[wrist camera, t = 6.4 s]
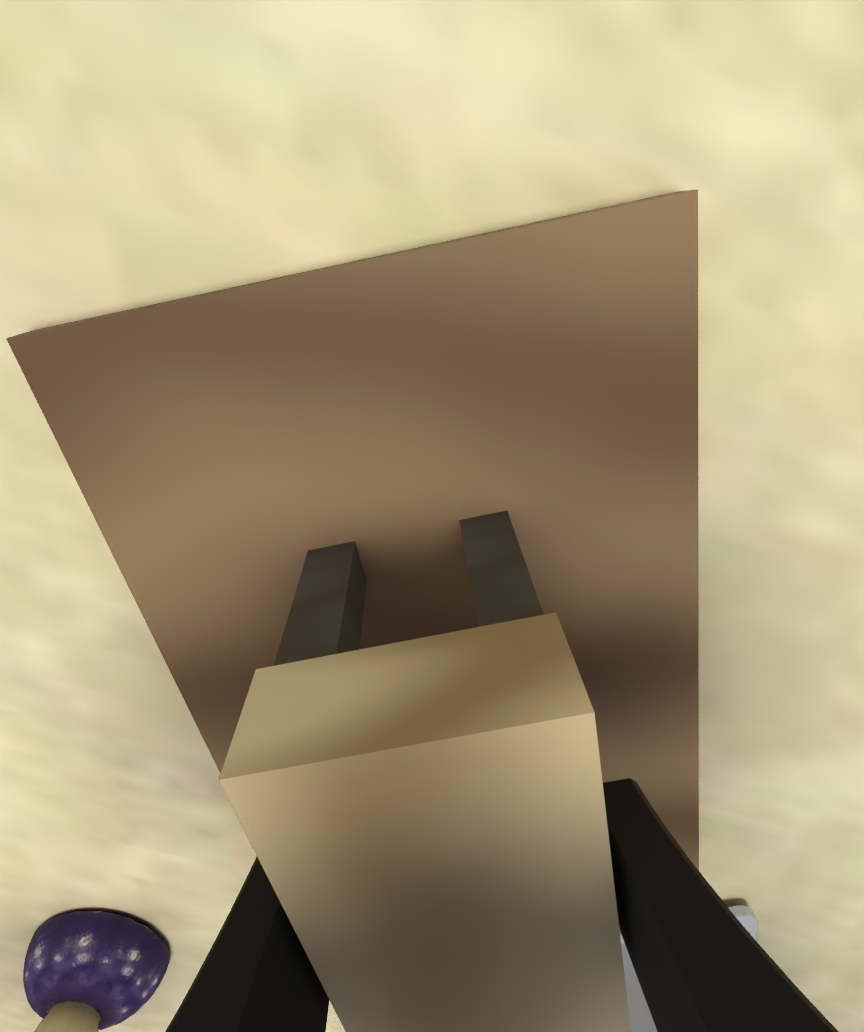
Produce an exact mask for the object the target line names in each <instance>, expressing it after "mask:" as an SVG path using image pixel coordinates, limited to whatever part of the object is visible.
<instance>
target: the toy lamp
mask: <svg viewBox="0 0 864 1032" xmlns="http://www.w3.org/2000/svg"><path fill="white" fill-rule="evenodd" d="M169 959H170V957H169V952H168V947H167V946H166V945H165V943H164V942H163V941H162V940H161V938H160V937H158V936H157V935H156V934H155V933H154V932H153V931H152V930H151V929H149V928H148V927H147V926H145V925H144V924H140V923H138V922H135V921H134V920H133V919H132V918H128V917H125V916H121V915H118V914H113V913H108V912H103V911H75V912H71V913H65V914H63V915H60V916H57V917H54V918H52V919H50V920H48V921H47V922H46V923H44V924H43V925H42V926H41V927H40V928H38V929H37V930H36V931H35V933H34V935H33V937H32V940H31V942H30V944H29V947H28V951H27V954H26V958H25V964H24V977H23V982H24V988H25V992H26V996H27V1000H28V1002H29V1004H30V1005H31V1008H32V1009H33V1010H34V1011H35V1012H36V1013H37V1014H38V1015H39V1016H40V1017H42V1018H43V1020H42V1021H41V1022H40V1024H39V1025H38V1027H37V1028H36V1030H35V1031H34V1032H98V1030H102V1029H105V1028H108V1027H110V1026H113V1025H116V1024H118V1023H121V1022H122V1021H124V1020H125V1019H127V1018H128V1017H130V1016H132V1015H133V1014H135V1013H136V1012H137V1011H138V1010H139V1009H140V1008H141V1007H142V1006H143V1005H144V1004H145V1003H146V1002H147V1001H148V1000H149V999H150V997H151V996H152V995H153V994H154V992H155V990H156V989H157V987H158V986H159V985H160V983H161V981H162V979H163V977H164V975H165V972H166V970H167V967H168V964H169Z"/></svg>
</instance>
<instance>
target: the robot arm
mask: <svg viewBox="0 0 864 1032" xmlns="http://www.w3.org/2000/svg"><path fill="white" fill-rule="evenodd" d="M603 791H604V799H605V808H606V817H607V826H608V834H609V843H610V852H611V860H612V869H613V878H614V887H615V895H616V904H617V913H618V921H619V930H620V939H621V948H622V956H623V965H624V974H625V982H626V991H627V1000H628V1009H629V1017H630V1026H631V1032H838V1031H837V1030H836V1028H835V1027H834V1026H833V1025H832V1024H831V1023H830V1022H829V1021H828V1020H827V1019H826V1018H825V1017H824V1016H823V1015H822V1014H821V1013H820V1012H819V1011H818V1010H817V1008H816V1007H815V1006H814V1005H813V1004H812V1003H811V1002H810V1001H809V1000H808V999H807V998H806V997H805V995H804V994H803V993H802V992H801V991H800V990H799V989H798V988H797V987H796V986H795V985H794V983H793V982H792V981H791V980H790V979H789V978H788V977H787V976H786V975H785V973H784V972H783V971H782V970H781V969H780V968H779V967H778V965H777V964H776V963H775V962H774V961H773V960H772V959H771V958H770V956H769V955H768V954H767V953H766V952H765V951H764V950H763V949H762V947H761V946H760V945H759V944H758V943H757V942H756V939H757V925H758V922H757V919H756V917H755V915H754V913H753V911H752V909H750V908H749V907H747V906H743V905H740V906H732V907H727V906H726V904H725V903H724V902H723V901H722V899H721V898H720V897H719V896H718V894H717V893H716V892H715V891H714V890H713V888H712V887H711V886H710V885H709V883H708V882H707V881H706V880H705V878H704V877H703V876H702V875H701V873H700V872H699V871H698V869H697V868H696V867H695V866H694V864H693V863H692V862H691V860H690V859H689V858H688V856H687V855H686V854H685V852H684V851H683V850H682V848H681V847H680V845H679V844H678V843H677V841H676V840H675V839H674V837H673V836H672V835H671V833H670V832H669V830H668V829H667V828H666V826H665V825H664V823H663V822H662V820H661V819H660V818H659V816H658V815H657V813H656V812H655V810H654V809H653V807H652V806H651V804H650V803H649V801H648V799H647V798H646V796H645V795H644V793H643V792H642V790H641V788H640V787H639V785H638V783H637V782H636V781H634V780H632V779H631V778H627V779H622V780H616V781H610V782H604V783H603ZM328 1005H329V998H328V996H327V994H326V992H325V990H324V988H323V986H322V984H321V982H320V980H319V978H318V976H317V974H316V972H315V970H314V968H313V966H312V964H311V962H310V960H309V958H308V956H307V954H306V952H305V950H304V948H303V946H302V944H301V942H300V940H299V938H298V936H297V934H296V932H295V930H294V928H293V926H292V924H291V922H290V920H289V918H288V916H287V914H286V912H285V911H284V909H283V907H282V905H281V903H280V901H279V899H278V897H277V895H276V893H275V891H274V889H273V887H272V885H271V883H270V881H269V879H268V877H267V875H266V873H265V871H264V869H263V867H262V865H261V863H260V861H259V859H258V857H256V860H255V862H254V864H253V866H252V868H251V870H250V872H249V874H248V876H247V878H246V880H245V882H244V884H243V886H242V889H241V891H240V893H239V895H238V897H237V899H236V901H235V903H234V905H233V907H232V909H231V911H230V913H229V915H228V917H227V919H226V921H225V923H224V925H223V927H222V929H221V930H220V932H219V934H218V936H217V938H216V940H215V942H214V944H213V946H212V948H211V950H210V952H209V953H208V955H207V957H206V959H205V961H204V963H203V965H202V967H201V968H200V970H199V972H198V974H197V976H196V978H195V980H194V982H193V983H192V985H191V987H190V989H189V991H188V993H187V995H186V996H185V998H184V1000H183V1002H182V1004H181V1006H180V1007H179V1009H178V1011H177V1013H176V1014H175V1016H174V1018H173V1019H172V1021H171V1023H170V1025H169V1026H168V1028H167V1030H166V1032H325V1030H326V1022H327V1014H328Z"/></svg>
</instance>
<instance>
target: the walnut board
mask: <svg viewBox="0 0 864 1032" xmlns="http://www.w3.org/2000/svg"><path fill="white" fill-rule="evenodd" d="M6 339H7V341H8V343H9V345H10V347H11V349H12V351H13V353H14V355H15V357H16V359H17V361H18V363H19V365H20V367H21V369H22V371H23V373H24V375H25V377H26V379H27V382H28V384H29V386H30V388H31V390H32V392H33V394H34V396H35V398H36V400H37V402H38V404H39V406H40V408H41V410H42V412H43V414H44V416H45V418H46V420H47V422H48V424H49V426H50V428H51V430H52V432H53V434H54V436H55V438H56V440H57V442H58V444H59V446H60V448H61V450H62V453H63V455H64V457H65V459H66V461H67V463H68V465H69V467H70V469H71V471H72V473H73V475H74V477H75V479H76V481H77V483H78V485H79V487H80V489H81V491H82V493H83V495H84V497H85V499H86V501H87V503H88V505H89V507H90V509H91V511H92V513H93V515H94V517H95V519H96V522H97V524H98V526H99V528H100V530H101V532H102V534H103V536H104V538H105V540H106V542H107V544H108V546H109V548H110V550H111V552H112V554H113V556H114V558H115V560H116V562H117V564H118V566H119V568H120V570H121V572H122V574H123V576H124V578H125V580H126V582H127V584H128V586H129V588H130V590H131V593H132V595H133V597H134V599H135V601H136V603H137V605H138V607H139V609H140V611H141V613H142V615H143V617H144V619H145V621H146V623H147V625H148V627H149V629H150V631H151V633H152V635H153V637H154V639H155V641H156V643H157V645H158V647H159V649H160V651H161V653H162V655H163V657H164V659H165V661H166V664H167V666H168V668H169V670H170V672H171V674H172V676H173V678H174V680H175V682H176V684H177V686H178V688H179V690H180V692H181V694H182V696H183V698H184V700H185V702H186V704H187V706H188V708H189V710H190V712H191V714H192V716H193V718H194V720H195V722H196V724H197V726H198V728H199V730H200V733H201V735H202V737H203V739H204V741H205V743H206V745H207V747H208V749H209V751H210V753H211V755H212V757H213V759H214V761H215V763H216V765H217V767H218V769H219V771H220V773H221V771H222V768H223V765H224V762H225V759H226V756H227V753H228V750H229V748H230V745H231V742H232V739H233V736H234V733H235V730H236V727H237V724H238V721H239V718H240V715H241V712H242V709H243V706H244V703H245V700H246V697H247V694H248V691H249V688H250V685H251V682H252V679H253V676H254V673H255V670H256V669H260V668H265V667H270V666H274V662H275V659H276V656H277V652H278V649H279V646H280V642H281V639H282V636H283V632H284V629H285V626H286V622H287V619H288V616H289V612H290V609H291V606H292V602H293V599H294V596H295V592H296V589H297V586H298V582H299V579H300V576H301V572H302V569H303V566H304V562H305V559H306V556H307V552H308V550H313V549H318V548H323V547H328V546H333V545H338V544H343V543H348V542H353V541H355V543H356V547H357V550H358V553H359V557H360V560H361V564H362V567H363V570H364V574H365V577H366V580H367V583H366V593H365V602H364V611H363V620H362V629H361V638H360V647H359V650H360V649H365V648H370V647H376V646H381V645H386V644H391V643H397V642H402V641H407V640H413V639H418V638H423V637H428V636H434V635H439V634H444V633H449V632H455V631H460V630H465V629H471V628H476V627H478V623H477V618H476V612H475V606H474V601H473V595H472V589H471V584H470V578H469V572H468V567H467V561H466V556H465V550H464V544H463V539H462V533H461V527H460V522H459V520H462V519H467V518H472V517H477V516H482V515H487V514H491V513H496V512H501V511H506V510H507V511H508V514H509V517H510V520H511V523H512V525H513V528H514V531H515V534H516V537H517V540H518V543H519V545H520V548H521V551H522V554H523V557H524V560H525V563H526V565H527V568H528V571H529V574H530V577H531V580H532V583H533V585H534V588H535V591H536V594H537V597H538V600H539V603H540V605H541V608H542V611H543V614H550V613H555V612H556V613H557V616H558V618H559V621H560V624H561V626H562V629H563V632H564V634H565V637H566V639H567V642H568V645H569V647H570V650H571V652H572V655H573V658H574V660H575V663H576V665H577V668H578V671H579V673H580V676H581V678H582V681H583V684H584V686H585V689H586V691H587V694H588V697H589V699H590V702H591V704H592V707H593V710H594V712H595V721H596V730H597V738H598V747H599V756H600V765H601V773H602V782H603V783H604V782H610V781H616V780H622V779H627V778H631V779H632V780H634V781H636V782H637V783H638V785H639V787H640V788H641V790H642V792H643V793H644V795H645V796H646V798H647V799H648V801H649V803H650V804H651V806H652V807H653V809H654V810H655V812H656V813H657V815H658V816H659V818H660V819H661V820H662V822H663V823H664V825H665V826H666V828H667V829H668V830H669V832H670V833H671V835H672V836H673V837H674V839H675V840H676V841H677V843H678V844H679V845H680V847H681V848H682V850H683V851H684V852H685V854H686V855H687V856H688V858H689V859H690V860H691V862H692V863H693V864H694V866H695V867H696V868H697V869H698V871H699V817H698V190H690V191H680V192H674V193H670V194H665V195H660V196H656V197H651V198H646V199H642V200H637V201H633V202H628V203H623V204H619V205H614V206H609V207H605V208H600V209H595V210H591V211H586V212H581V213H577V214H572V215H568V216H563V217H558V218H554V219H549V220H544V221H540V222H535V223H530V224H526V225H521V226H516V227H512V228H507V229H502V230H498V231H493V232H489V233H484V234H479V235H475V236H470V237H465V238H461V239H456V240H451V241H447V242H442V243H437V244H433V245H428V246H423V247H419V248H414V249H410V250H405V251H400V252H396V253H391V254H386V255H382V256H377V257H372V258H368V259H363V260H358V261H354V262H349V263H344V264H340V265H335V266H331V267H326V268H321V269H317V270H312V271H307V272H303V273H298V274H293V275H289V276H284V277H279V278H275V279H270V280H265V281H261V282H256V283H252V284H247V285H242V286H238V287H233V288H228V289H224V290H219V291H214V292H210V293H205V294H200V295H196V296H191V297H187V298H182V299H177V300H173V301H168V302H163V303H159V304H154V305H149V306H145V307H140V308H135V309H131V310H126V311H121V312H117V313H112V314H108V315H103V316H98V317H94V318H89V319H84V320H80V321H75V322H70V323H66V324H61V325H56V326H52V327H47V328H42V329H38V330H33V331H29V332H26V333H23V334H19V335H16V336H13V337H9V338H6Z"/></svg>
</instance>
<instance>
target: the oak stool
mask: <svg viewBox="0 0 864 1032" xmlns="http://www.w3.org/2000/svg"><path fill="white" fill-rule="evenodd" d="M459 522H460V527H461V533H462V539H463V544H464V550H465V556H466V561H467V567H468V572H469V578H470V584H471V589H472V595H473V601H474V606H475V612H476V618H477V623H478V627H476V628H471V629H465V630H460V631H455V632H449V633H444V634H439V635H434V636H428V637H423V638H418V639H413V640H407V641H402V642H397V643H391V644H386V645H381V646H376V647H370V648H365V649H360V650H359V647H360V638H361V629H362V620H363V611H364V602H365V593H366V583H367V580H366V577H365V574H364V570H363V567H362V564H361V560H360V557H359V553H358V550H357V547H356V543H355V541H353V542H348V543H343V544H338V545H333V546H328V547H323V548H318V549H313V550H308V552H307V556H306V559H305V562H304V566H303V569H302V572H301V576H300V579H299V582H298V586H297V589H296V592H295V596H294V599H293V602H292V606H291V609H290V612H289V616H288V619H287V622H286V626H285V629H284V632H283V636H282V639H281V642H280V646H279V649H278V652H277V656H276V659H275V662H274V666H270V667H265V668H260V669H256V670H255V673H254V676H253V679H252V682H251V685H250V688H249V691H248V694H247V697H246V700H245V703H244V706H243V709H242V712H241V715H240V718H239V721H238V724H237V727H236V730H235V733H234V736H233V739H232V742H231V745H230V748H229V750H228V753H227V756H226V759H225V762H224V765H223V768H222V771H221V774H220V777H219V782H220V784H221V786H222V788H223V790H224V792H225V794H226V796H227V798H228V800H229V802H230V804H231V806H232V808H233V810H234V812H235V814H236V816H237V818H238V820H239V822H240V824H241V825H242V827H243V829H244V831H245V833H246V835H247V837H248V839H249V841H250V843H251V845H252V847H253V849H254V851H255V853H256V855H257V857H258V859H259V861H260V863H261V865H262V867H263V869H264V871H265V873H266V875H267V877H268V879H269V881H270V883H271V885H272V887H273V889H274V891H275V893H276V895H277V897H278V899H279V901H280V903H281V905H282V907H283V909H284V911H285V912H286V914H287V916H288V918H289V920H290V922H291V924H292V926H293V928H294V930H295V932H296V934H297V936H298V938H299V940H300V942H301V944H302V946H303V948H304V950H305V952H306V954H307V956H308V958H309V960H310V962H311V964H312V966H313V968H314V970H315V972H316V974H317V976H318V978H319V980H320V982H321V984H322V986H323V988H324V990H325V992H326V994H327V996H328V998H329V1000H330V1001H331V1003H332V1005H333V1007H334V1009H335V1011H336V1013H337V1015H338V1017H339V1019H340V1021H341V1023H342V1025H343V1027H344V1029H345V1031H346V1032H631V1026H630V1017H629V1009H628V1000H627V991H626V982H625V974H624V965H623V956H622V948H621V939H620V930H619V921H618V913H617V904H616V895H615V887H614V878H613V869H612V860H611V852H610V843H609V834H608V826H607V817H606V808H605V799H604V791H603V782H602V773H601V765H600V756H599V747H598V738H597V730H596V721H595V712H594V710H593V707H592V704H591V702H590V699H589V697H588V694H587V691H586V689H585V686H584V684H583V681H582V678H581V676H580V673H579V671H578V668H577V665H576V663H575V660H574V658H573V655H572V652H571V650H570V647H569V645H568V642H567V639H566V637H565V634H564V632H563V629H562V626H561V624H560V621H559V618H558V616H557V613H556V612H555V613H550V614H543V611H542V608H541V605H540V603H539V600H538V597H537V594H536V591H535V588H534V585H533V583H532V580H531V577H530V574H529V571H528V568H527V565H526V563H525V560H524V557H523V554H522V551H521V548H520V545H519V543H518V540H517V537H516V534H515V531H514V528H513V525H512V523H511V520H510V517H509V514H508V511H507V510H506V511H501V512H496V513H491V514H487V515H482V516H477V517H472V518H467V519H462V520H459Z"/></svg>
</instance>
